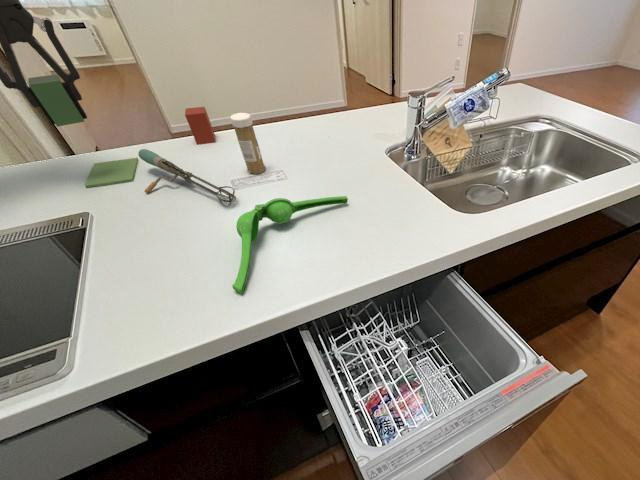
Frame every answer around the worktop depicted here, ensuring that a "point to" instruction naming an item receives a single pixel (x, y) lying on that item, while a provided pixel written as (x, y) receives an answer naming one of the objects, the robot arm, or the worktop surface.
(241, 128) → the sprinkles bottle
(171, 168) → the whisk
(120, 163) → the sage mat
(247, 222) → the lime squeezer
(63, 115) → the green block
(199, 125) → the red block
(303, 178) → the worktop surface
